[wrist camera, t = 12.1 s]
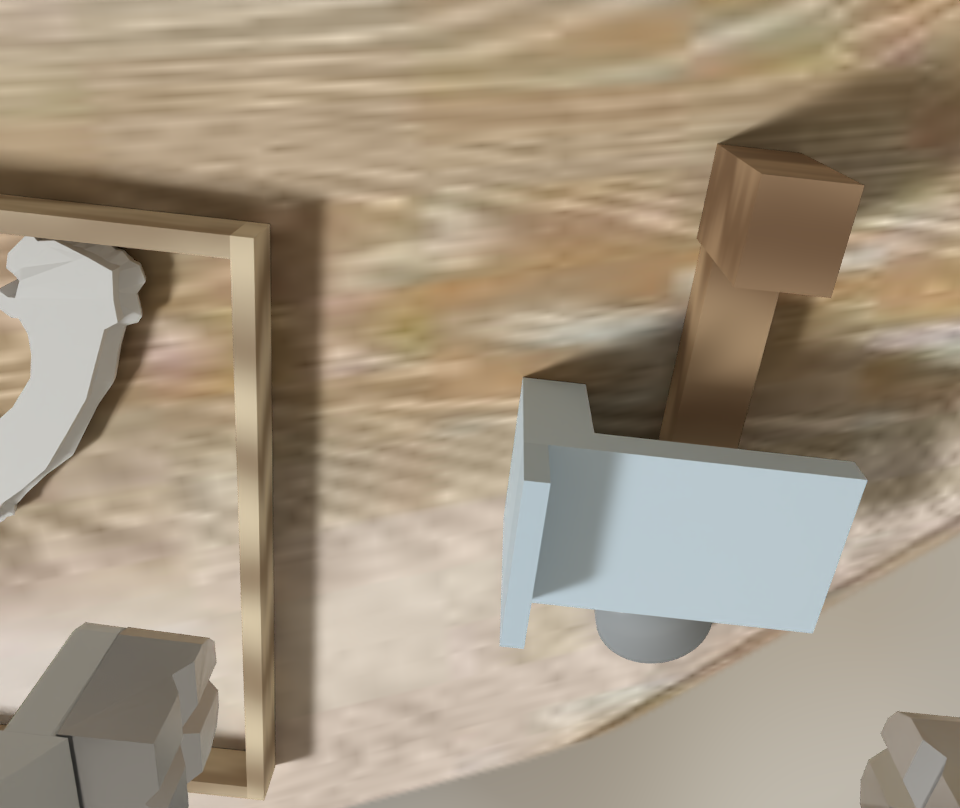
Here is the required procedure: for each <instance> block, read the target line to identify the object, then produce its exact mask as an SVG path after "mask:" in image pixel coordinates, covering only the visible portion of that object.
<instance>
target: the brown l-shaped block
mask: <svg viewBox="0 0 960 808" xmlns="http://www.w3.org/2000/svg"><path fill="white" fill-rule="evenodd" d="M864 186H865V185H863V184H861V183H859V182H857V181H855V180H853V179H851V178H849V177H847V176H845V175H843V174H841V173H839V172H837V171H835V170H833V169H831V168H829V167H827V166H826V165H824V164H822V163H820V162H818V161H816V160H814V159H812V158H810V157H808V156H806V155H804V154H802V153H796V152H787V151H778V150H769V149H760V148H751V147H741V146H732V145H723V144H717V148H716V152H715V157H714V162H713V166H712V171H711V175H710V180H709V185H708V189H707V194H706V198H705V203H704V208H703V212H702V217H701V221H700V226H699V231H698V235H697V239H698V241H699V242H700V243H701V248H700V253H699V257H698V262H697V266H696V271H695V275H694V280H693V285H692V289H691V294H690V298H689V303H688V307H687V312H686V316H685V321H684V325H683V330H682V335H681V339H680V344H679V348H678V353H677V357H676V362H675V366H674V371H673V375H672V380H671V384H670V389H669V394H668V398H667V403H666V407H665V412H664V416H663V421H662V425H661V430H660V434H659V439H658V440H661V441H670V442H680V443H689V444H698V445H707V446H716V447H725V448H734V449H737V448H738V445H739V441H740V437H741V434H742V430H743V426H744V422H745V419H746V415H747V411H748V408H749V404H750V400H751V396H752V393H753V389H754V385H755V382H756V378H757V374H758V370H759V367H760V363H761V359H762V356H763V352H764V348H765V344H766V341H767V337H768V333H769V330H770V326H771V322H772V318H773V315H774V311H775V307H776V304H777V300H778V296H779V292H782V293H791V294H800V295H810V296H819V297H828V298H831V296H832V293H833V290H834V286H835V283H836V280H837V276H838V273H839V270H840V266H841V263H842V259H843V256H844V253H845V249H846V246H847V243H848V239H849V236H850V233H851V229H852V226H853V223H854V219H855V216H856V213H857V209H858V206H859V203H860V199H861V196H862V193H863V189H864Z"/></svg>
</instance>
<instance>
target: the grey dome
mask: <svg viewBox="0 0 960 808" xmlns="http://www.w3.org/2000/svg"><path fill="white" fill-rule="evenodd" d="M594 610H595V609H594ZM595 618H596V625H597V630H598V633H599V635H600V637H601V639H602V641H603V642H604V644H605V645H606V646H607V647H608V648H609V649H610V650H612V651H613V652H614V653H616V654H617V655H619V656H621V657H623V658H625V659H628V660H631V661H635V662H640V663H663V662H668V661H672V660H675V659H678V658H680V657H682V656H684V655H686V654H688V653H690V652H691V651H693V650H694V649H695V648H696V647H698V646H699V645H700V644H701V643H702V641H703V640H704V639H705V637H706V636H707V634H708V632H709V630H710V628H711V624H712V622H704V621H695V620H686V619H677V618H668V617H659V616H650V615H640V614H631V613H622V612H613V611H604V610H595Z"/></svg>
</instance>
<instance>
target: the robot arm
mask: <svg viewBox="0 0 960 808" xmlns="http://www.w3.org/2000/svg"><path fill="white" fill-rule="evenodd" d="M215 665H216V652H215V642H214V641H213V640H211V639H210V638H206V637H199V636H191V635H184V634H176V633H168V632H161V631H153V630H146V629H138V628H131V627H128V628H123V627H116V626H109V625H101V624H94V623H87V622H86V623H84V624H83V625H81V626H80V627H78V628H77V629H75V630H74V631H73V632H72V634H71V635H70V636H69V638H68V639H67V641H66V642H65V644H64V645H63V646H62V648H61V649H60V651H59V652H58V654H57V655H56V656H55V658H54V659H53V661H52V662H51V663H50V665H49V666H48V668H47V669H46V671H45V672H44V673H43V675H42V676H41V678H40V679H39V681H38V682H37V683H36V685H35V686H34V688H33V689H32V691H31V692H30V693H29V695H28V696H27V698H26V699H25V700H24V702H23V703H22V705H21V706H20V708H19V709H18V710H17V712H16V713H15V715H14V716H13V718H12V719H11V720H10V722H9V723H8V725H7V726H6V728H5V729H4V730H3V731H2V730H0V808H188V806H189V805H188V791H187V783H189V782H190V781H191V780H193V779H194V778H195V777H197V776H198V775H199V774H201V773H202V772H203V769H204V767H205V764H206V761H207V759H208V756H209V754H210V751H211V747H212V743H213V739H214V735H215V731H216V727H217V719H218V708H219V701H218V690H217V689H216V687H215V686H214V685H213V684H212V683H211V682H210V681H209V678H210V676H211V674H212V672H213V669H214V667H215ZM881 736H882V738H883V740H884V742H885V744H886V746H887V749H885V750H883V751H882V752H880V753H879V754H877V755H876V756H874V757H872V758H871V759H869V760H868V763H867V765H866V768H865V770H864V773H863V776H862V778H861V791H860V805H861V808H960V717H950V716H939V715H930V714H920V713H910V712H899V711H897V712H896V713H894V714H893V715H892V716H890V717H889V718H888V719H887V721H886V723H885V726H884V727H883V730H882V732H881Z"/></svg>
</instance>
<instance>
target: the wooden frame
mask: <svg viewBox="0 0 960 808" xmlns="http://www.w3.org/2000/svg"><path fill="white" fill-rule="evenodd" d="M0 233H1V234H10V235H19V236H28V237H37V238H46V239H55V240H64V241H73V242H82V243H91V244H100V245H109V246H118V247H127V248H136V249H145V250H154V251H163V252H172V253H181V254H190V255H199V256H208V257H217V258H226V259H230V263H231V295H232V326H233V358H234V390H235V422H236V454H237V486H238V517H239V549H240V581H241V613H242V645H243V677H244V708H245V740H246V751H240V750H231V749H222V748H213V747H211V751H210V754H209V756H208V759H207V761H206V764H205V767H204V769H203V772H202V773H201V774H199V775H198V776H197V777H195V778H194V779H193V780H191V781H190V782H189V783H187V791H188V792H190V793H199V794H208V795H218V796H227V797H236V798H245V799H255V800H264V799H265V796H266V793H267V790H268V787H269V784H270V781H271V778H272V774H273V771H274V768H275V679H274V575H273V472H272V368H271V265H270V224H264V223H256V222H247V221H238V220H229V219H220V218H211V217H202V216H193V215H184V214H175V213H166V212H157V211H148V210H139V209H130V208H121V207H112V206H103V205H94V204H85V203H76V202H67V201H58V200H49V199H40V198H31V197H22V196H13V195H4V194H0ZM6 726H7V725H0V730H2V731H3V730H4V729H5V728H6Z"/></svg>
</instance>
